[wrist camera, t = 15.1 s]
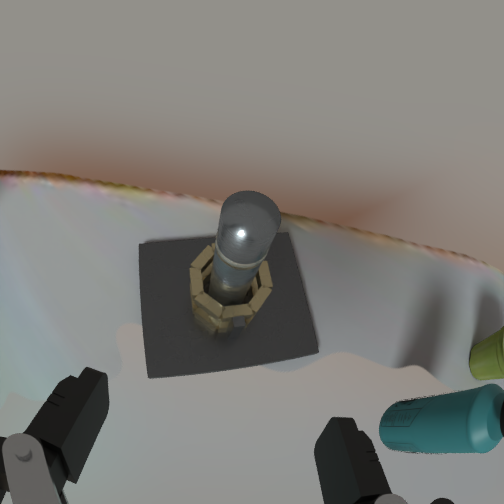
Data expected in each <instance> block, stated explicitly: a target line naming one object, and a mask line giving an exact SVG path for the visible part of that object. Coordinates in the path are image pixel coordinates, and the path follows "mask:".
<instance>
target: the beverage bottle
mask: <svg viewBox="0 0 504 504" xmlns="http://www.w3.org/2000/svg"><path fill="white" fill-rule="evenodd" d="M379 434H380V438H381V441H382V442H383V444H385V446H387V447H388V448H390V449H392V450H398V451H410V452H412V453H414V452H422V453H423V452H424V453H486V452H489V451H490V450H492V449H493V448H494V447H495V446H496V445H497V444H498V443H499V442H500V440H501V439H502V437H504V390H503V389H502V388H501V387H500V386H498V385H496V384H487V385H484V386H482V387H478V388H474V389H470V390H465V391H460V392H454V393H449V394H444V395H438V396H432V397H427V398H420V399H414V400H407V401H399V402H397V403H395V404H393V405H391V406H390V407H389V408H388V409H387V410H386V411H385V413H384V414H383V416H382V418H381V422H380V426H379Z"/></svg>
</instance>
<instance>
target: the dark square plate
mask: <svg viewBox="0 0 504 504" xmlns="http://www.w3.org/2000/svg"><path fill="white" fill-rule="evenodd" d="M215 241H216V238H205V239H192V240H180V241H168V242H156V243H145V244H139V276H140V297H141V313H142V326H143V338H144V347H145V357H146V366H147V374H148V378H150V379H151V378H164V377H175V376H185V375H195V374H203V373H211V372H219V371H226V370H232V369H239V368H246V367H252V366H258V365H263V364H269V363H274V362H280V361H285V360H290V359H295V358H299V357H304V356H309V355H313V354H316V353H319V350H318V346H317V342H316V338H315V334H314V330H313V326H312V322H311V318H310V314H309V310H308V306H307V302H306V298H305V294H304V290H303V286H302V282H301V279H300V275H299V271H298V267H297V263H296V260H295V256H294V252H293V249H292V245H291V241H290V238H289V234H288V232H287V233H276V235H275V237H274V239H273V241H272V243H271V245H270V247H269V251H268V253H267V255H266V257H265V259H264V260H263V262H262V263H261V265H260V267H259V270H258V272H257V274H256V276H255V278H254V280H253V282H252V284H251V286H250V288H249V290H248V292H247V294H246V296H245V298H244V300H243V302H242V304H241V305H234V306H225V307H224V306H222V305H221V304H220V303H218V302H217V301H215V300H214V299H213V298H211V297H210V296H209V295H208V292H209V285H210V278H211V271H212V265H213V258H214V252H215Z"/></svg>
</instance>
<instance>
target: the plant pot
mask: <svg viewBox="0 0 504 504" xmlns="http://www.w3.org/2000/svg"><path fill="white" fill-rule="evenodd" d="M469 365H470V370H471V373H472V375H473V376H474V378H476V379H478V380H490V379H501V378H504V326H503V327H502V328H501V330H499V331H498V332H496V333H494V334H493V335H491V336H490V337H488V338H486V339H485V340H483V341H481V342H480V343H478V344H476V345H475V346H474V347H473V348H472V350H471V357H470V361H469Z"/></svg>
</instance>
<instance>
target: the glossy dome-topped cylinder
mask: <svg viewBox="0 0 504 504" xmlns="http://www.w3.org/2000/svg"><path fill="white" fill-rule="evenodd" d="M280 223H281V215H280V211H279V209H278V207H277V206H276V204H275V203H274V202H273V201H272V200H271V199H270V198H269V197H267V196H266V195H264V194H261V193H259V192H255V191H240V192H237V193H234V194H232V195H231V196H229V197H228V198H227V199H226V200H225V202H224V203H223V206H222V209H221V214H220V221H219V227H218V232H217V235H216V241H215V252H214V258H213V265H212V271H211V278H210V285H209V292H208V295H209V296H210V297H211V298H213V299H214V300H215V301H217V302H218V303H220V304H221V305H222V306H224V307H225V306H234V305H241V304H242V302H243V300H244V298H245V296H246V294H247V292H248V290H249V288H250V286H251V284H252V282H253V280H254V278H255V276H256V274H257V272H258V270H259V267H260V265H261V263H262V262H263V260H264V259H265V257H266V255H267V253H268V251H269V247H270V245H271V243H272V241H273V239H274V237H275V235H276V233H277V231H278V229H279V226H280Z"/></svg>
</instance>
